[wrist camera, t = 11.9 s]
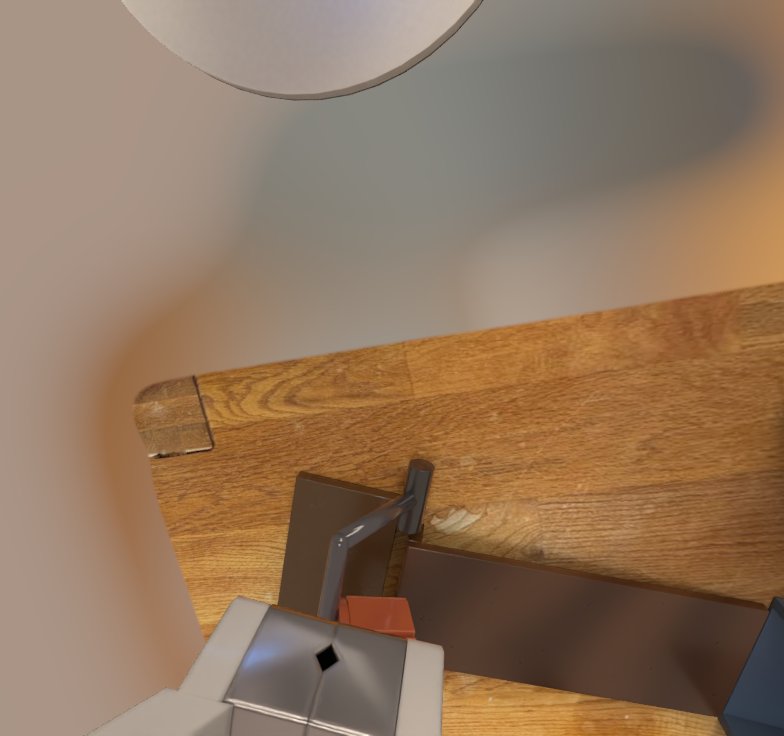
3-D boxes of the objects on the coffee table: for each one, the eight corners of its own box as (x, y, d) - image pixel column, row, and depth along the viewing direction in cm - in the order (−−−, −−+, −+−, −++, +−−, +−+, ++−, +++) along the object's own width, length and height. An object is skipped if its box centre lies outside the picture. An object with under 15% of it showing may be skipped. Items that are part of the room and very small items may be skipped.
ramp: (764, 603, 38) (792, 638, 35) (715, 708, 41) (736, 749, 38) (411, 520, 40) (407, 546, 37) (387, 627, 42) (381, 659, 39)
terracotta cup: (300, 777, 30) (419, 773, 32) (341, 549, 26) (478, 557, 27) (301, 632, 40) (392, 634, 42) (331, 450, 36) (431, 459, 37)
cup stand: (278, 619, 44) (225, 733, 34) (300, 471, 40) (248, 551, 30) (371, 643, 43) (345, 766, 33) (403, 494, 39) (384, 584, 29)
